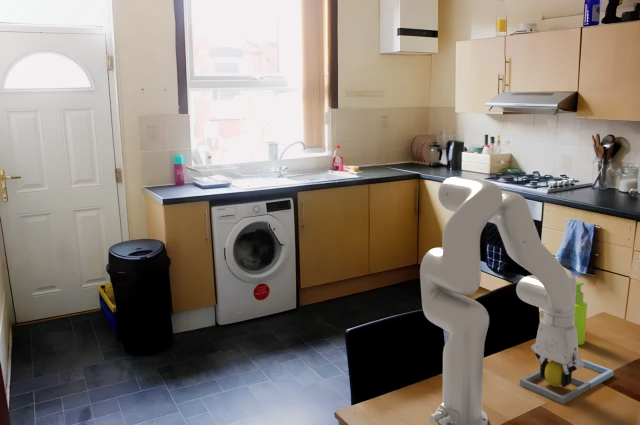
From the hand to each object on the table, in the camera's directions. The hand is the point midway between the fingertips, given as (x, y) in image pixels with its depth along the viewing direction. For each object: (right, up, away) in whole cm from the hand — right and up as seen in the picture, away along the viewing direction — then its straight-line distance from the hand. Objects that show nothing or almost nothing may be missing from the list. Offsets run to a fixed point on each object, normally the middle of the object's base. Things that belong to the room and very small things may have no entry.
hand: (555, 380), depth 153 cm
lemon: (0, -2, 0) cm, 2 cm away
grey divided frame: (+5, -1, +4) cm, 6 cm away
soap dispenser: (+18, +4, +29) cm, 34 cm away
